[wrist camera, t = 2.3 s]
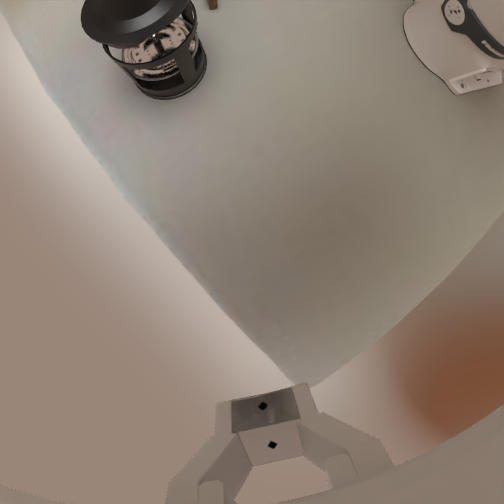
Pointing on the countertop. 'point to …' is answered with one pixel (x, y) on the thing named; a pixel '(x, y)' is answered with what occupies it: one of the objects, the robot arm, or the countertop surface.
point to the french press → (149, 41)
